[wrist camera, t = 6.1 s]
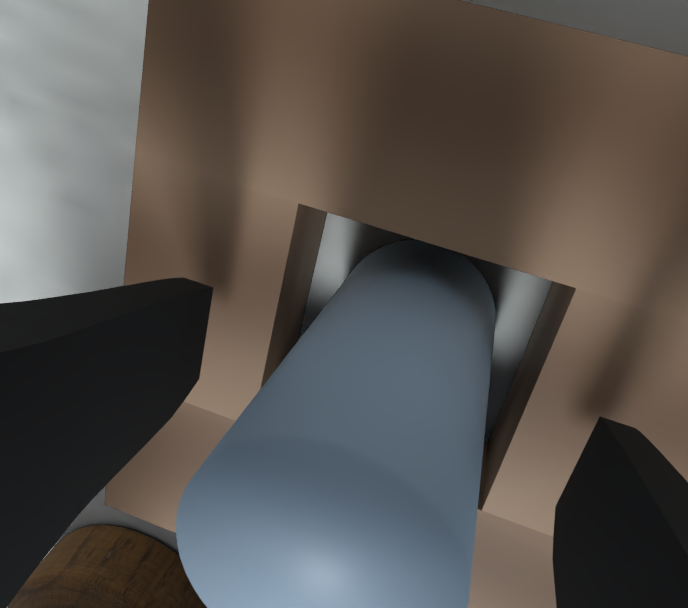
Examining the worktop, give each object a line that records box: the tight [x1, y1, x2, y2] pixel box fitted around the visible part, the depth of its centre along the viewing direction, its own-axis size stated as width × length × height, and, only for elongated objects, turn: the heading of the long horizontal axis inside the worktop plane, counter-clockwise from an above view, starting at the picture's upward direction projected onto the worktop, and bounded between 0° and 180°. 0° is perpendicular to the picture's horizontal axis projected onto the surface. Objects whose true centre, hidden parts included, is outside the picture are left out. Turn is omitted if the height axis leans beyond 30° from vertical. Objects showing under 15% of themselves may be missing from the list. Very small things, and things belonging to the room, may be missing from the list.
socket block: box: [104, 0, 688, 608], centre depth 13 cm, size 13×12×2 cm
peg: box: [176, 240, 495, 608], centre depth 11 cm, size 4×4×8 cm
